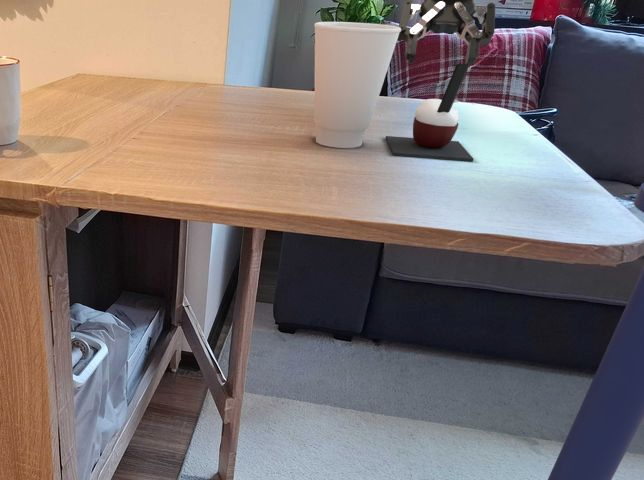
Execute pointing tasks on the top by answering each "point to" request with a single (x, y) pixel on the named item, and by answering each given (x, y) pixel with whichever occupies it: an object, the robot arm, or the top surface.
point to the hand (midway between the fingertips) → (440, 62)
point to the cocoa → (439, 115)
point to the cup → (349, 78)
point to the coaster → (427, 149)
